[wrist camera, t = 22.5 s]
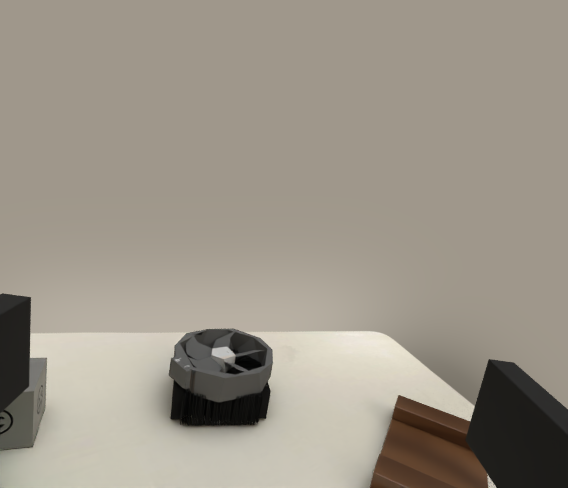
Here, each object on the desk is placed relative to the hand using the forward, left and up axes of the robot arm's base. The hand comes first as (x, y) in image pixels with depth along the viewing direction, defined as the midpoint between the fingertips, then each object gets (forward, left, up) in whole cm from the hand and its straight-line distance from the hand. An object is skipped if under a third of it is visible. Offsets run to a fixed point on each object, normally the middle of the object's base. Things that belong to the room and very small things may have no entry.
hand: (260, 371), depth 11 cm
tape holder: (+5, -26, -19) cm, 33 cm away
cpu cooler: (+23, -14, -20) cm, 33 cm away
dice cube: (+27, +4, -20) cm, 33 cm away
